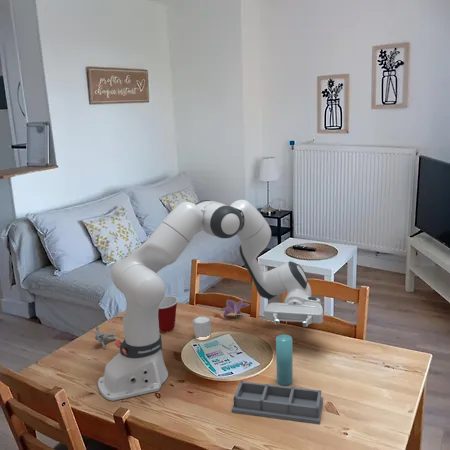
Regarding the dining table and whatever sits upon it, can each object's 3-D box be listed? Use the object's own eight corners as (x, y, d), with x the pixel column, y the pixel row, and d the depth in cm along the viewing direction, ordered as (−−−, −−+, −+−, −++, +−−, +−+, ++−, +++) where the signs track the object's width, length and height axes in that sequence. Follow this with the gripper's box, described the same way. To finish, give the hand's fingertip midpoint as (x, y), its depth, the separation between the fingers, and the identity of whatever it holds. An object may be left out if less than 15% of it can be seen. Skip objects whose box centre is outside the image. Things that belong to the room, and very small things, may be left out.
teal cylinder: (282, 387, 153) (282, 344, 149) (273, 380, 157) (272, 337, 153) (295, 382, 155) (295, 339, 151) (286, 375, 160) (285, 333, 156)
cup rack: (231, 412, 143) (231, 400, 141) (240, 390, 153) (240, 378, 152) (319, 424, 136) (319, 411, 135) (322, 400, 146) (323, 388, 145)
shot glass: (209, 341, 183) (208, 324, 181) (191, 340, 184) (190, 323, 183) (213, 332, 190) (212, 316, 188) (196, 332, 191) (195, 315, 189)
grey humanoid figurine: (123, 344, 185) (104, 345, 178) (114, 352, 187) (95, 354, 180) (114, 321, 189) (95, 322, 182) (105, 330, 192) (86, 331, 185)
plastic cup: (150, 325, 198) (147, 297, 195) (176, 320, 201) (174, 293, 198) (155, 337, 188) (152, 308, 185) (182, 332, 191) (180, 303, 188)
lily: (255, 318, 202) (249, 295, 204) (248, 319, 191) (241, 295, 193) (228, 325, 205) (222, 303, 207) (219, 327, 194) (213, 303, 196)
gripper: (267, 296, 179) (259, 312, 166) (324, 299, 173) (321, 316, 161) (267, 311, 181) (260, 329, 168) (324, 315, 175) (321, 334, 162)
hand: (290, 323), depth 164 cm, fingers open, 8 cm apart
